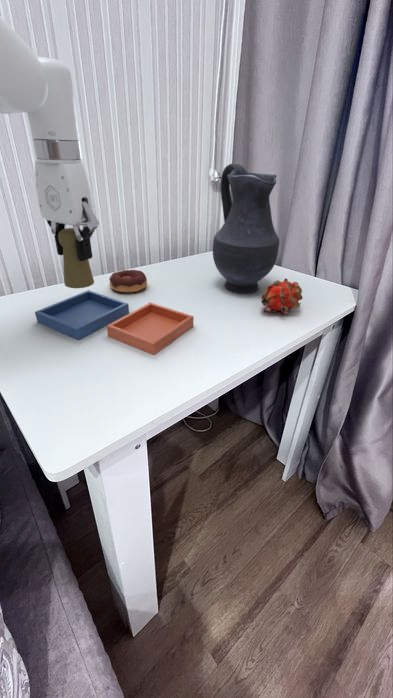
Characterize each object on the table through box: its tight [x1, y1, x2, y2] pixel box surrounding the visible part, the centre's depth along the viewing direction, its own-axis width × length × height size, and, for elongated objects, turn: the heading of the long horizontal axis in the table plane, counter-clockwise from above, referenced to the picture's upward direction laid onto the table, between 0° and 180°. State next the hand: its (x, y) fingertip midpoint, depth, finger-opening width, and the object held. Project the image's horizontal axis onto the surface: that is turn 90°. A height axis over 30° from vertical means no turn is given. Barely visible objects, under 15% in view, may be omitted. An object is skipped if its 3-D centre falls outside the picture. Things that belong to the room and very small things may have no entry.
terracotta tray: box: [106, 302, 195, 356], centre depth 70 cm, size 14×12×2 cm
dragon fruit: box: [260, 278, 304, 315], centre depth 80 cm, size 8×8×12 cm
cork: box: [58, 227, 95, 289], centre depth 67 cm, size 6×6×11 cm
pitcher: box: [212, 163, 280, 295], centre depth 87 cm, size 17×21×30 cm
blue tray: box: [34, 289, 130, 341], centre depth 74 cm, size 15×13×2 cm
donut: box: [108, 269, 148, 293], centre depth 89 cm, size 10×10×4 cm
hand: (75, 255), depth 67 cm, fingers closed on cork, 5 cm apart
